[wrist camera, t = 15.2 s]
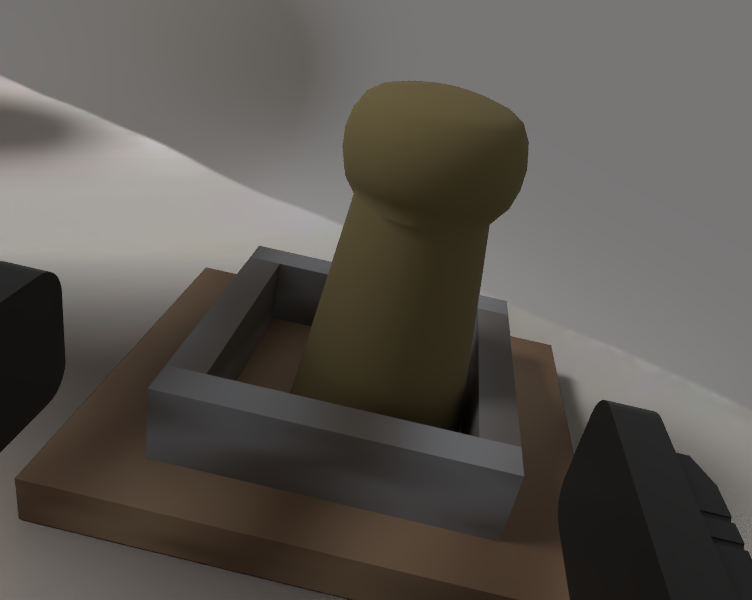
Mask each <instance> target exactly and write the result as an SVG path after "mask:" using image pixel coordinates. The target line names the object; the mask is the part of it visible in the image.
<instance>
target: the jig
mask: <svg viewBox="0 0 752 600" xmlns="http://www.w3.org/2000/svg"><path fill="white" fill-rule="evenodd" d="M331 264H332V262H329V261H325V260H320V259H316V258H311V257H307V256H303V255H298V254H294V253H289V252H285V251H280V250H276V249H271V248H267V247H262V246H259V247H258V248H257V249H256V251H255V252H254V253H253V254H252V256H251V257H250V258H249V260H248V261H247V262H246V263H245V265H244V266H243V267H242V269H241V270H240V271H239V272H238V274H233V273H228V272H224V271H220V270H215V269H211V268H205V269H204V270H203V271H202V273H201V274H200V275H199V276H198V277H197V278H196V279H195V280H194V281H193V283H192V284H191V285H190V286H189V287H188V288H187V289H186V290H185V291H184V292H183V294H182V295H181V296H180V297H179V298H178V299H177V300H176V301H175V302H174V303H173V305H172V306H171V307H170V308H169V309H168V310H167V311H166V312H165V313H164V315H163V316H162V317H161V318H160V319H159V320H158V321H157V322H156V323H155V324H154V326H153V327H152V328H151V329H150V330H149V331H148V332H147V333H146V334H145V335H144V337H143V338H142V339H141V340H140V341H139V342H138V343H137V344H136V345H135V347H134V348H133V349H132V350H131V351H130V352H129V353H128V354H127V355H126V356H125V358H124V359H123V360H122V361H121V362H120V363H119V364H118V365H117V366H116V367H115V369H114V370H113V371H112V372H111V373H110V374H109V375H108V376H107V377H106V379H105V380H104V381H103V382H102V383H101V384H100V385H99V386H98V387H97V388H96V390H95V391H94V392H93V393H92V394H91V395H90V396H89V397H88V398H87V399H86V401H85V402H84V403H83V404H82V405H81V406H80V407H79V408H78V409H77V411H76V412H75V413H74V414H73V415H72V416H71V417H70V418H69V419H68V420H67V422H66V423H65V424H64V425H63V426H62V427H61V428H60V429H59V430H58V431H57V433H56V434H55V435H54V436H53V437H52V438H51V439H50V440H49V441H48V443H47V444H46V445H45V446H44V447H43V448H42V449H41V450H40V451H39V452H38V454H37V455H36V456H35V457H34V458H33V459H32V460H31V461H30V462H29V463H28V465H27V466H26V467H25V468H24V469H23V470H22V471H21V472H20V473H19V475H18V476H17V477H16V478H15V485H16V494H17V504H18V513H19V519H22V520H27V521H31V522H35V523H39V524H43V525H47V526H51V527H55V528H60V529H64V530H68V531H72V532H76V533H80V534H84V535H88V536H92V537H97V538H101V539H105V540H109V541H113V542H117V543H121V544H125V545H130V546H134V547H138V548H142V549H146V550H150V551H154V552H158V553H163V554H167V555H171V556H175V557H179V558H183V559H187V560H191V561H195V562H200V563H204V564H208V565H212V566H216V567H220V568H224V569H228V570H233V571H237V572H241V573H245V574H249V575H253V576H257V577H261V578H266V579H270V580H274V581H278V582H282V583H286V584H290V585H294V586H298V587H303V588H307V589H311V590H315V591H319V592H323V593H327V594H331V595H336V596H340V597H344V598H348V599H352V600H570V598H569V592H568V585H567V579H566V572H565V566H564V559H563V553H562V546H561V540H560V533H559V527H558V502H559V496H560V491H561V487H562V484H563V481H564V478H565V475H566V473H567V471H568V468H569V466H570V464H571V461H572V459H573V457H574V454H573V449H572V444H571V439H570V434H569V429H568V425H567V420H566V415H565V410H564V405H563V401H562V396H561V391H560V386H559V381H558V377H557V372H556V367H555V362H554V357H553V352H552V348H551V345H547V344H543V343H538V342H534V341H529V340H525V339H520V338H516V337H512V336H510V329H509V319H508V310H507V301H503V300H499V299H494V298H490V297H485V296H481V295H479V300H478V307H477V314H476V321H475V328H474V335H473V341H472V348H471V355H470V362H469V369H468V376H467V382H466V389H465V396H464V403H463V410H462V417H461V424H460V430H459V433H458V432H454V431H449V430H445V429H441V428H436V427H432V426H428V425H423V424H419V423H415V422H411V421H406V420H402V419H398V418H393V417H389V416H385V415H380V414H376V413H372V412H367V411H363V410H359V409H355V408H350V407H346V406H342V405H337V404H333V403H329V402H324V401H320V400H316V399H311V398H307V397H303V396H299V395H294V394H290V392H291V389H292V385H293V382H294V379H295V376H296V373H297V370H298V367H299V364H300V360H301V357H302V354H303V351H304V348H305V345H306V342H307V339H308V335H309V332H310V329H311V326H312V323H313V320H314V317H315V314H316V311H317V307H318V304H319V301H320V298H321V295H322V292H323V289H324V286H325V282H326V279H327V276H328V273H329V270H330V267H331Z"/></svg>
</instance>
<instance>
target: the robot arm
mask: <svg viewBox="0 0 752 600" xmlns="http://www.w3.org/2000/svg"><path fill="white" fill-rule="evenodd" d="M64 370H65V346H64V326H63V307H62V289H61V284H60V281H59V279H58V277H57V276H56V275H55V274H54V273H51V272H48V271H43V270H39V269H35V268H30V267H26V266H21V265H17V264H13V263H8V262H4V261H0V452H1V451H2V450H3V449H4V448H5V447H6V446H7V445H8V444H9V443H10V442H11V441H12V440H13V439H14V438H15V437H16V436H17V435H18V434H19V433H20V432H21V431H22V430H23V429H24V428H25V427H26V426H27V425H28V424H29V423H30V422H31V421H32V420H33V419H34V418H35V417H36V416H37V415H38V414H39V413H40V412H41V411H42V410H43V409H44V408H45V407H46V405H47V404H48V403H49V402H50V401H51V400H52V399H53V397H54V396H55V394H56V392H57V391H58V388H59V386H60V384H61V381H62V378H63V374H64ZM731 518H732V517H731V514H730V512H729V510H728V508H727V506H726V504H725V502H724V500H723V498H722V495H721V493H720V491H719V489H718V487H717V485H716V484H715V483H714V482H713V481H712V480H711V479H710V478H709V477H708V476H707V474H706V473H705V472H704V471H703V470H702V469H701V468H700V467H699V466H698V465H697V464H696V463H695V461H694V460H693V459H692V458H691V457H690V456H688V455H683V454H679V453H676V452H675V450H674V447H673V445H672V443H671V440H670V438H669V436H668V433H667V431H666V428H665V426H664V424H663V421H662V419H661V417H660V415H659V414H658V413H657V412H654V411H650V410H646V409H641V408H637V407H633V406H628V405H624V404H619V403H615V402H611V401H606V400H602V401H600V402H599V403H598V404H597V405H596V406H595V408H594V410H593V412H592V414H591V416H590V419H589V421H588V423H587V426H586V428H585V431H584V433H583V435H582V438H581V440H580V442H579V445H578V447H577V449H576V452H575V454H574V457H573V459H572V461H571V464H570V466H569V468H568V471H567V473H566V475H565V478H564V481H563V484H562V487H561V491H560V496H559V502H558V527H559V533H560V540H561V546H562V553H563V559H564V566H565V572H566V579H567V585H568V592H569V598H570V600H752V559H751V557H750V554H749V552H748V551H745V550H744V542H743V540H742V538H741V535H740V533H739V531H738V529H737V527H736V525H735V524H734V523H731Z"/></svg>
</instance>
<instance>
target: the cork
mask: <svg viewBox="0 0 752 600" xmlns="http://www.w3.org/2000/svg"><path fill="white" fill-rule="evenodd" d="M528 144H529V142H528V138H527V134H526V131H525V127H524V123H523V122H522V121H521V120H520V119H519V118H518V117H517V116H516V115H515V114H514V113H513V112H512V111H511V110H510V109H509V108H507V107H505V106H503V105H501V104H499V103H497V102H495V101H493V100H491V99H489V98H487V97H485V96H483V95H480V94H477V93H475V92H472V91H469V90H466V89H463V88H459V87H456V86H452V85H447V84H441V83H433V82H423V81H401V82H400V81H398V82H387V83H382V84H380V85H378V86H375V87H373V88H371V89H369V90H368V91H366V92H365V94H364V95H363V96H362V97H361V98H360V99H359V101H358V102H357V103H356V104H355V105H354V107H353V109H352V111H351V114H350V116H349V118H348V121H347V124H346V126H345V133H344V140H343V157H344V168H345V175H346V178H347V180H348V182H349V184H350V186H351V188H352V190H353V192H354V195H353V198H352V202H351V205H350V208H349V211H348V214H347V217H346V220H345V223H344V226H343V229H342V232H341V236H340V239H339V242H338V245H337V248H336V251H335V254H334V257H333V261H332V264H331V267H330V270H329V273H328V276H327V279H326V282H325V286H324V289H323V292H322V295H321V298H320V301H319V304H318V307H317V311H316V314H315V317H314V320H313V323H312V326H311V329H310V332H309V335H308V339H307V342H306V345H305V348H304V351H303V354H302V357H301V360H300V364H299V367H298V370H297V373H296V376H295V379H294V382H293V385H292V389H291V392H290V394H294V395H299V396H303V397H307V398H311V399H316V400H320V401H324V402H329V403H333V404H337V405H342V406H346V407H350V408H355V409H359V410H363V411H367V412H372V413H376V414H380V415H385V416H389V417H393V418H398V419H402V420H406V421H411V422H415V423H419V424H423V425H428V426H432V427H436V428H441V429H445V430H449V431H454V432H458V433H459V430H460V424H461V417H462V410H463V403H464V396H465V389H466V382H467V376H468V369H469V362H470V355H471V348H472V341H473V335H474V328H475V321H476V314H477V307H478V300H479V293H480V287H481V280H482V273H483V266H484V259H485V252H486V245H487V239H488V232H489V225H490V224H491V223H492V222H493V221H495V220H496V219H497V218H498V217H499V216H501V215H502V214H503V213H505V212H506V211H507V210H508V209H509V208H510V206H511V205H512V203H513V202H514V200H515V198H516V197H517V195H518V193H519V192H520V190H521V187H522V184H523V180H524V177H525V174H526V171H527V162H528Z"/></svg>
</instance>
